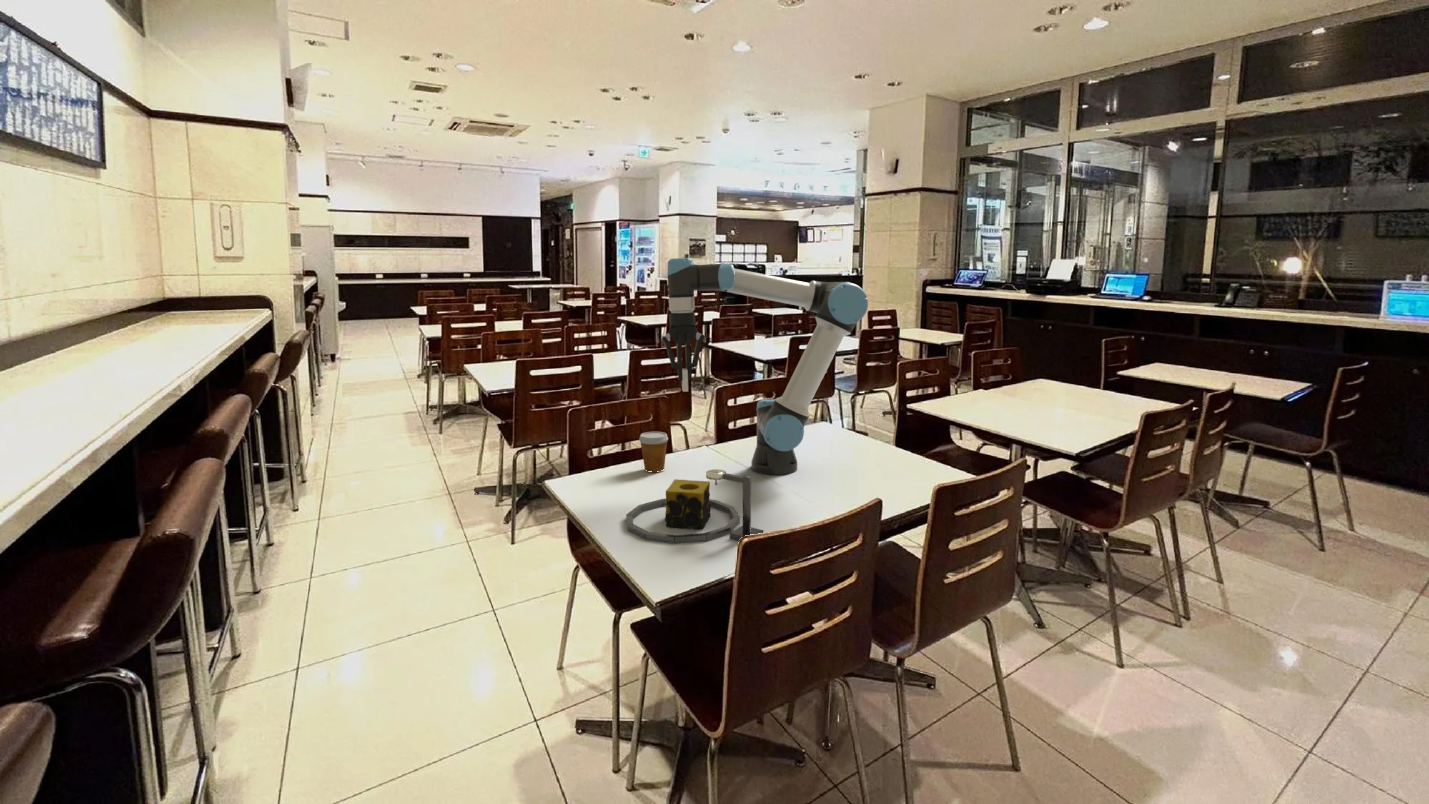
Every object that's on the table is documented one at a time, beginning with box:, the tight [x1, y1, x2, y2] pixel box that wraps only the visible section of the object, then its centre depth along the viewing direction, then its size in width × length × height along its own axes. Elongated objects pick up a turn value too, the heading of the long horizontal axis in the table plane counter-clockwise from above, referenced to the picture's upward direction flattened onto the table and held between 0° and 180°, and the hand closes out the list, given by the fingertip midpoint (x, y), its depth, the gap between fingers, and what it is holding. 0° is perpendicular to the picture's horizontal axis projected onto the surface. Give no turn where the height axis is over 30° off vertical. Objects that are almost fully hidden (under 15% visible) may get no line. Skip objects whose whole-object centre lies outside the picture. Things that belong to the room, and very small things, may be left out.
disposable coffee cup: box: [638, 431, 669, 472], centre depth 225 cm, size 10×10×12 cm
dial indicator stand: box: [705, 468, 765, 542], centre depth 170 cm, size 14×6×16 cm, turn 55°
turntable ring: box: [625, 498, 741, 544], centre depth 180 cm, size 29×29×2 cm
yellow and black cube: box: [664, 478, 712, 531], centre depth 178 cm, size 10×10×10 cm
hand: (685, 390), depth 206 cm, fingers closed
